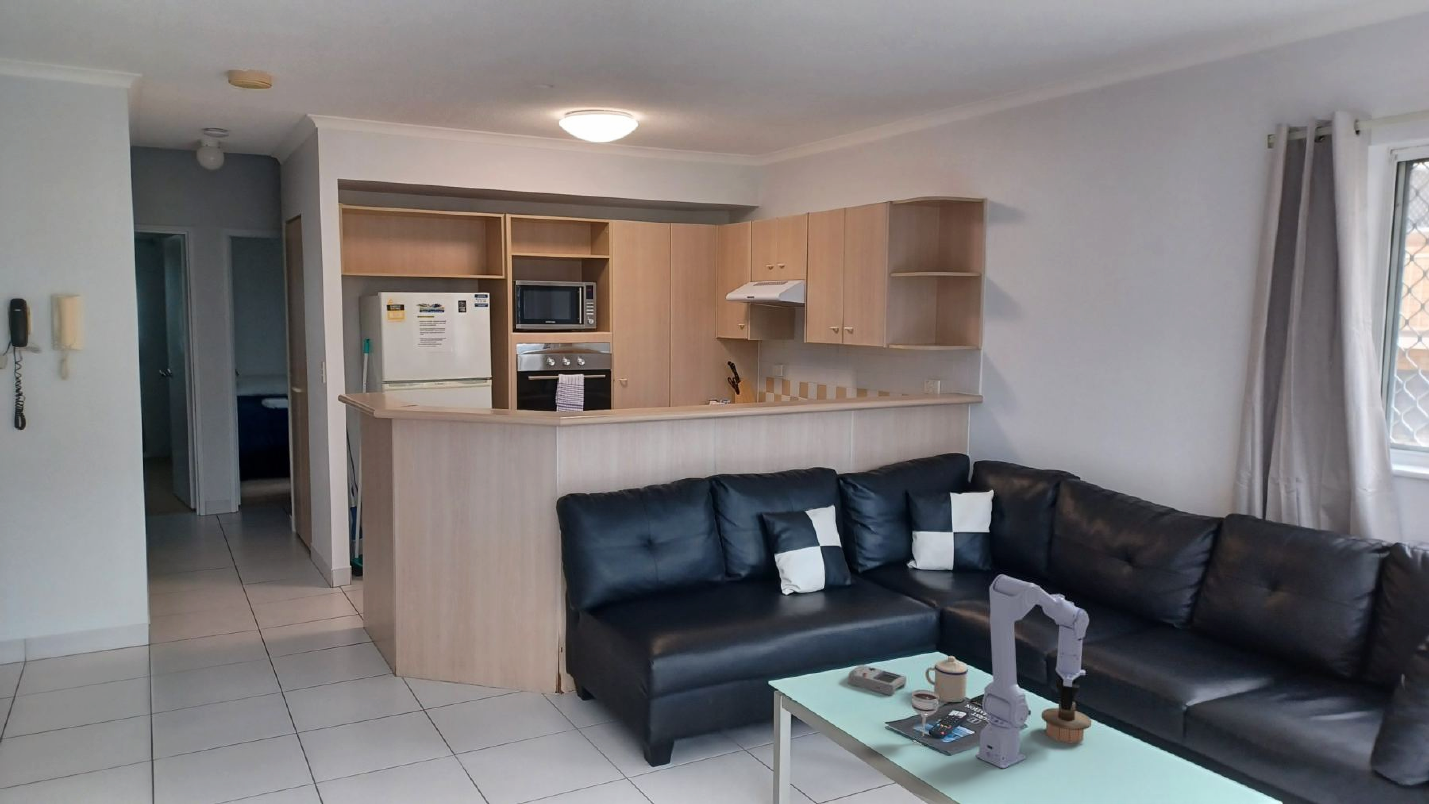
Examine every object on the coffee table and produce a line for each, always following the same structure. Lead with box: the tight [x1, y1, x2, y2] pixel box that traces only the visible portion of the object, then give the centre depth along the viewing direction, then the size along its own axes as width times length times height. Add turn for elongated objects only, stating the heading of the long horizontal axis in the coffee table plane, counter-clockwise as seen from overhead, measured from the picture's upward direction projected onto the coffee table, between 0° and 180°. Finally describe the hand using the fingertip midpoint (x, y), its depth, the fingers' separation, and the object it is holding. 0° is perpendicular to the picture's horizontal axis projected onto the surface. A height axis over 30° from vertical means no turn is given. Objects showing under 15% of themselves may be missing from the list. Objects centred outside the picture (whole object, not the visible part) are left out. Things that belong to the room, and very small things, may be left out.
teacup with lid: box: [925, 655, 969, 703], centre depth 269 cm, size 12×9×12 cm
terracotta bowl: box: [1045, 722, 1085, 744], centre depth 246 cm, size 9×9×4 cm
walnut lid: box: [1041, 699, 1092, 730], centre depth 245 cm, size 12×12×5 cm
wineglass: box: [910, 689, 940, 747], centre depth 240 cm, size 7×7×12 cm
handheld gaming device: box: [847, 664, 907, 696], centre depth 276 cm, size 9×15×4 cm, turn 53°
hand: (1066, 703), depth 245 cm, fingers open, 7 cm apart
